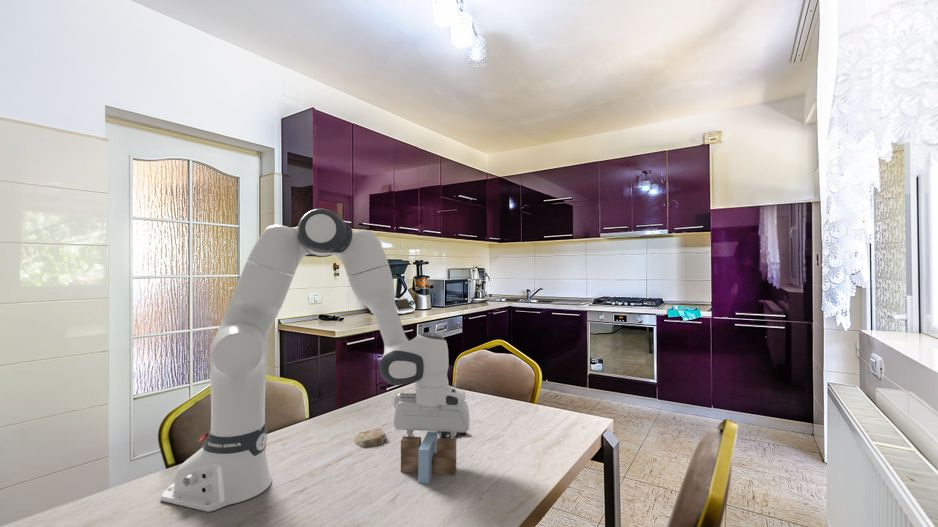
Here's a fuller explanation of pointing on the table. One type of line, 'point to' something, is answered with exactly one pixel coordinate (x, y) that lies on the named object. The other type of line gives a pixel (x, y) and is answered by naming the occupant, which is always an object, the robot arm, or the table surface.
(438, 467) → the wooden u-shaped block
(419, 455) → the blue arch block
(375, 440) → the stone
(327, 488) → the table surface
